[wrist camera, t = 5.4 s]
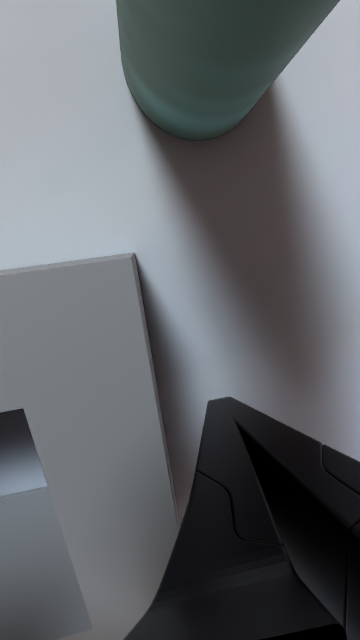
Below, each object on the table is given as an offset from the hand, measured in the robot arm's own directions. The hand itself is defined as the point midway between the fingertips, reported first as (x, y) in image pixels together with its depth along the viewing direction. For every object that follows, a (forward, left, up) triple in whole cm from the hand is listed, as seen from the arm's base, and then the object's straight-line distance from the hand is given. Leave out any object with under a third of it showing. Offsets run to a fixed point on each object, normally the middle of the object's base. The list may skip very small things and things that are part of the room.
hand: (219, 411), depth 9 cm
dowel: (+10, -1, -2) cm, 10 cm away
